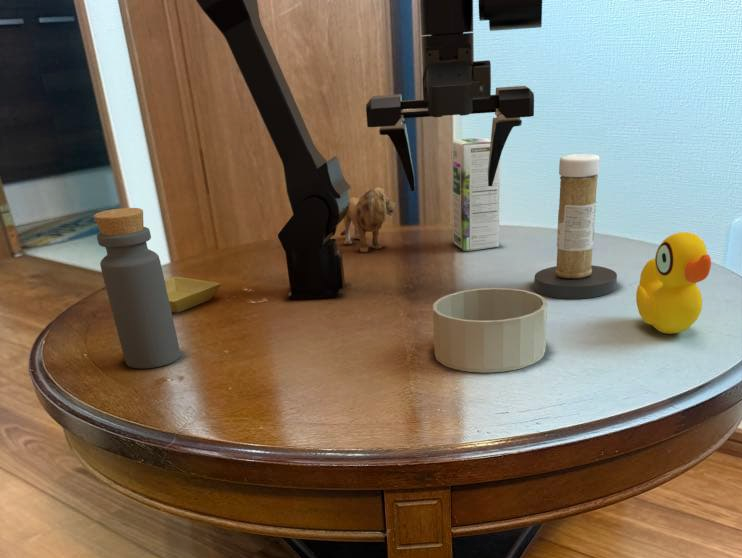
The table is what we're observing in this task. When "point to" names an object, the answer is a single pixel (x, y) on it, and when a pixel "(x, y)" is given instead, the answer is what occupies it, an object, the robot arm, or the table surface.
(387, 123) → the robot arm
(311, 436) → the table surface
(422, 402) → the table surface
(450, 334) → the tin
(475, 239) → the syrup box
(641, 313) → the duckling
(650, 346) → the table surface
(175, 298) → the yellow shallow tray
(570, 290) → the stand
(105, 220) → the bottle
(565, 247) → the sprinkles bottle
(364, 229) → the lion figurine
